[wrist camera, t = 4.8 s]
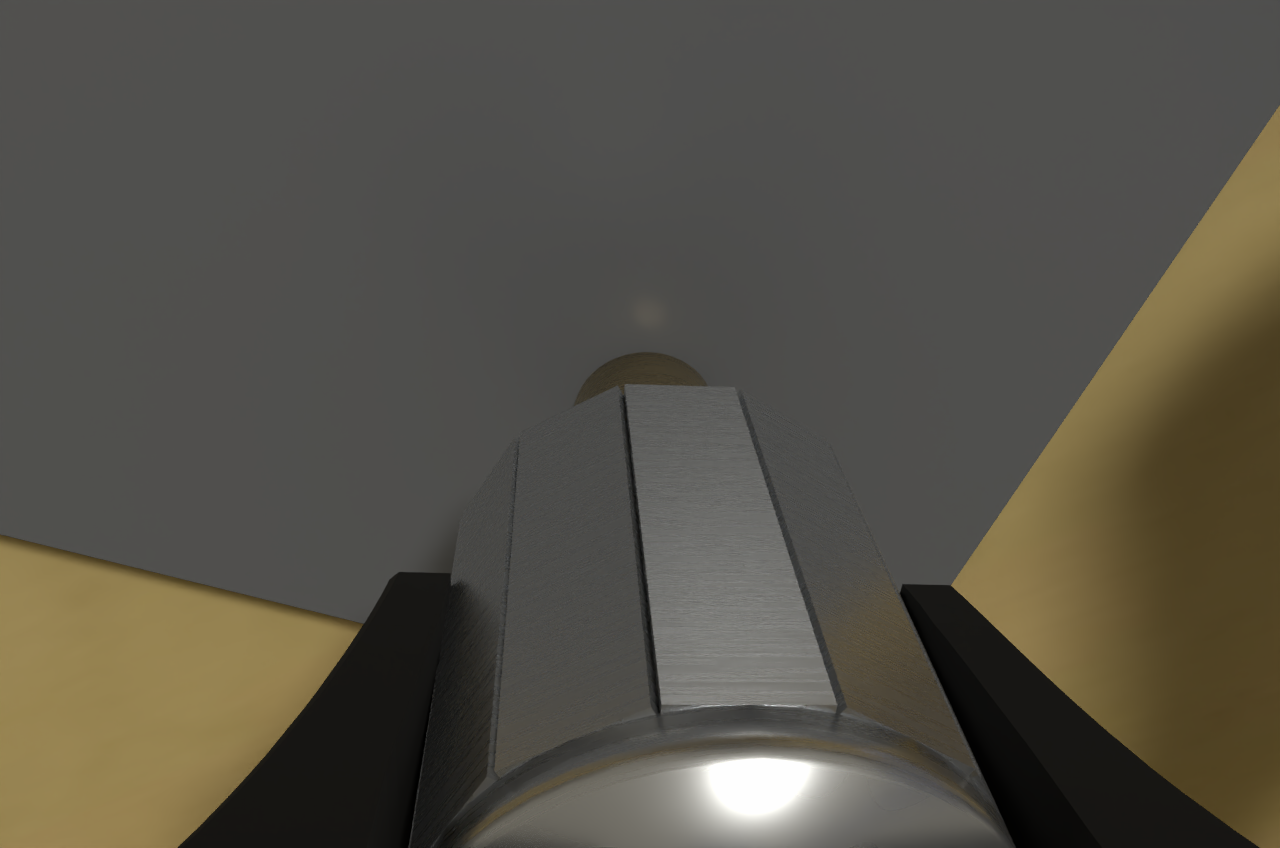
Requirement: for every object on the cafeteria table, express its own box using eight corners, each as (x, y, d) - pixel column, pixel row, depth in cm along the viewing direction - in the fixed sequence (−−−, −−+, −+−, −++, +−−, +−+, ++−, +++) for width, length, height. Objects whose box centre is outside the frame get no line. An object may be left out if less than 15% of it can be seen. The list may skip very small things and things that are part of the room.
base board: (1518, -328, 14) (1581, -338, 13) (833, 706, 23) (843, 741, 22) (-155, -1406, 9) (-232, -1540, 8) (-177, 449, 18) (-215, 481, 17)
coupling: (894, 391, 13) (1125, 764, 8) (828, 711, 15) (965, 1154, 10) (456, 379, 12) (376, 766, 7) (465, 711, 15) (410, 1174, 10)
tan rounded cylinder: (750, 382, 17) (797, 522, 14) (694, 493, 18) (724, 649, 15) (588, 328, 16) (594, 461, 13) (539, 447, 18) (533, 600, 14)
